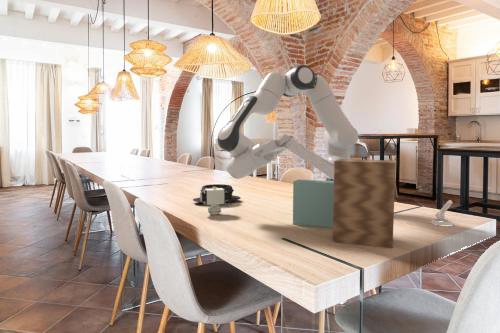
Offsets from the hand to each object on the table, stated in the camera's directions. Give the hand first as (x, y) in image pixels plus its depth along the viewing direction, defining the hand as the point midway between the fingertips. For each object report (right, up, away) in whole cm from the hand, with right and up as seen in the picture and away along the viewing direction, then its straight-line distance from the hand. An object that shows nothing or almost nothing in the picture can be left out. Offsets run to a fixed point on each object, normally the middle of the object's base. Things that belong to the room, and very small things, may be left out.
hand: (291, 137), depth 144 cm
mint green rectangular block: (+10, -34, -1) cm, 35 cm away
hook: (+58, -34, -1) cm, 67 cm away
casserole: (-33, -30, +45) cm, 63 cm away
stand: (+21, -36, -23) cm, 47 cm away
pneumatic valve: (-31, -32, +17) cm, 48 cm away
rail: (+7, -10, -2) cm, 12 cm away
